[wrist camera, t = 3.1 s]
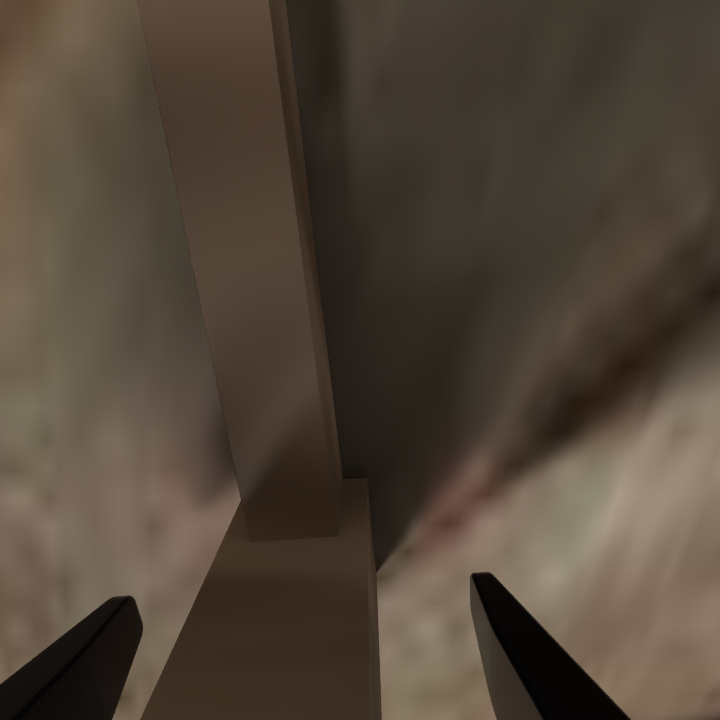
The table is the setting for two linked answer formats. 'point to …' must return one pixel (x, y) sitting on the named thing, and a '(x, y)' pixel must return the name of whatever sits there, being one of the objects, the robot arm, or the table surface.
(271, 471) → the tan post with foot
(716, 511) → the table surface
